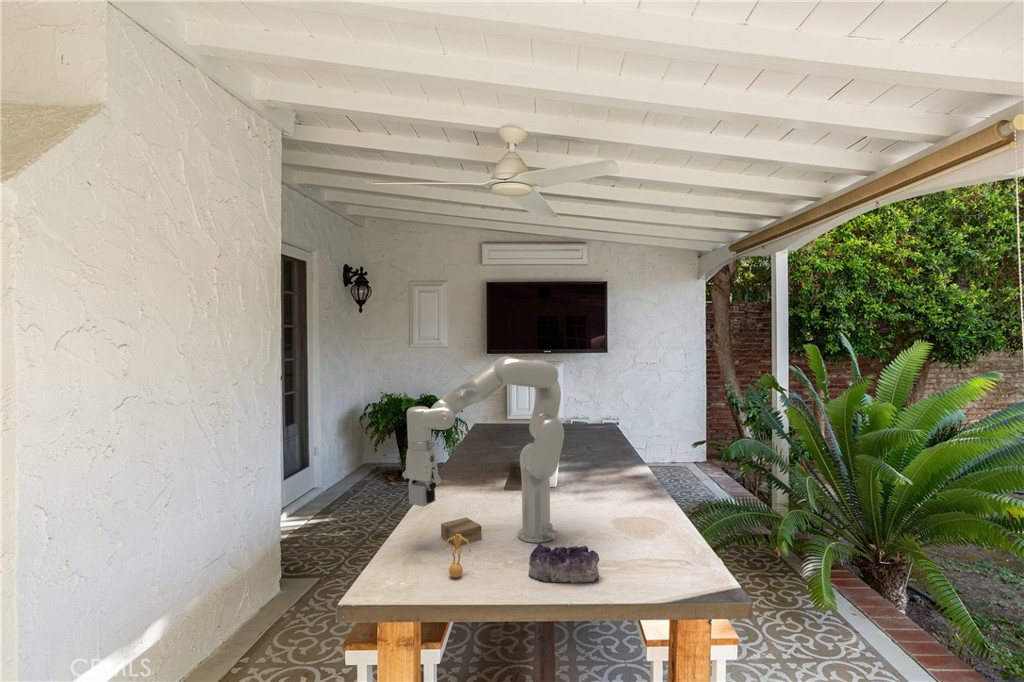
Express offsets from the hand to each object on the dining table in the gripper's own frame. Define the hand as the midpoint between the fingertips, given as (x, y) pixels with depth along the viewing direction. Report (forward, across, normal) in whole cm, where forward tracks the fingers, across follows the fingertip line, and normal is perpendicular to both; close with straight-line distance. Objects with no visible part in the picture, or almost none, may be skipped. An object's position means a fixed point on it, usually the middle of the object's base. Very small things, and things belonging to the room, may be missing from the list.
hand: (422, 499), depth 182 cm
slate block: (+1, 0, 0) cm, 1 cm away
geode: (+17, -48, -4) cm, 51 cm away
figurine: (+16, -21, +10) cm, 28 cm away
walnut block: (+17, -6, -12) cm, 21 cm away
